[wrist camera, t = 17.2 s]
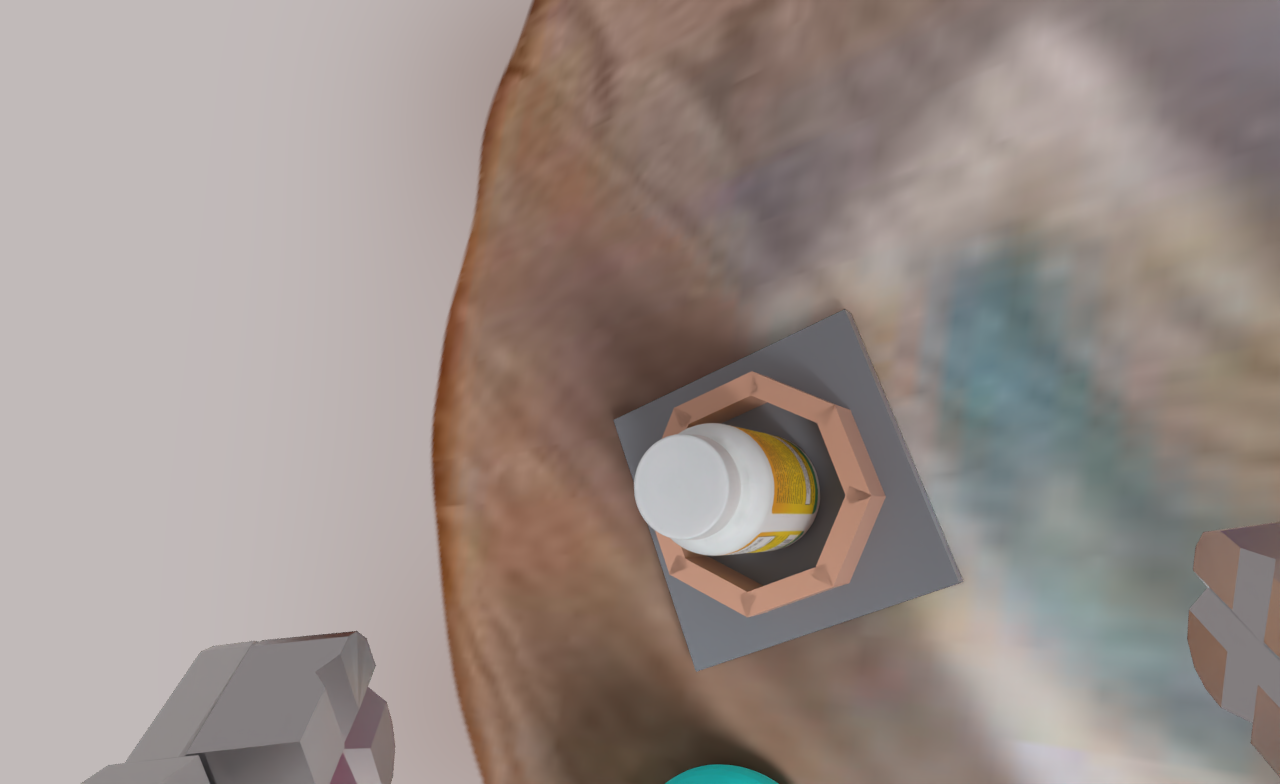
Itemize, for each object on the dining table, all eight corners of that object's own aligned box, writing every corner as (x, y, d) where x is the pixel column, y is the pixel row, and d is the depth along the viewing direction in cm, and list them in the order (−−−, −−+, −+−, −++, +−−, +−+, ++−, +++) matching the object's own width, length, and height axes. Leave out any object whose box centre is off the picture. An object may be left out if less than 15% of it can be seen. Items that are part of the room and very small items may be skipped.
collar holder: (963, 581, 40) (948, 587, 37) (704, 668, 45) (672, 680, 42) (850, 313, 44) (828, 298, 41) (622, 421, 49) (588, 415, 46)
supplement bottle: (786, 573, 43) (699, 588, 35) (696, 510, 46) (594, 511, 37) (845, 471, 42) (770, 462, 34) (749, 413, 45) (657, 391, 36)
